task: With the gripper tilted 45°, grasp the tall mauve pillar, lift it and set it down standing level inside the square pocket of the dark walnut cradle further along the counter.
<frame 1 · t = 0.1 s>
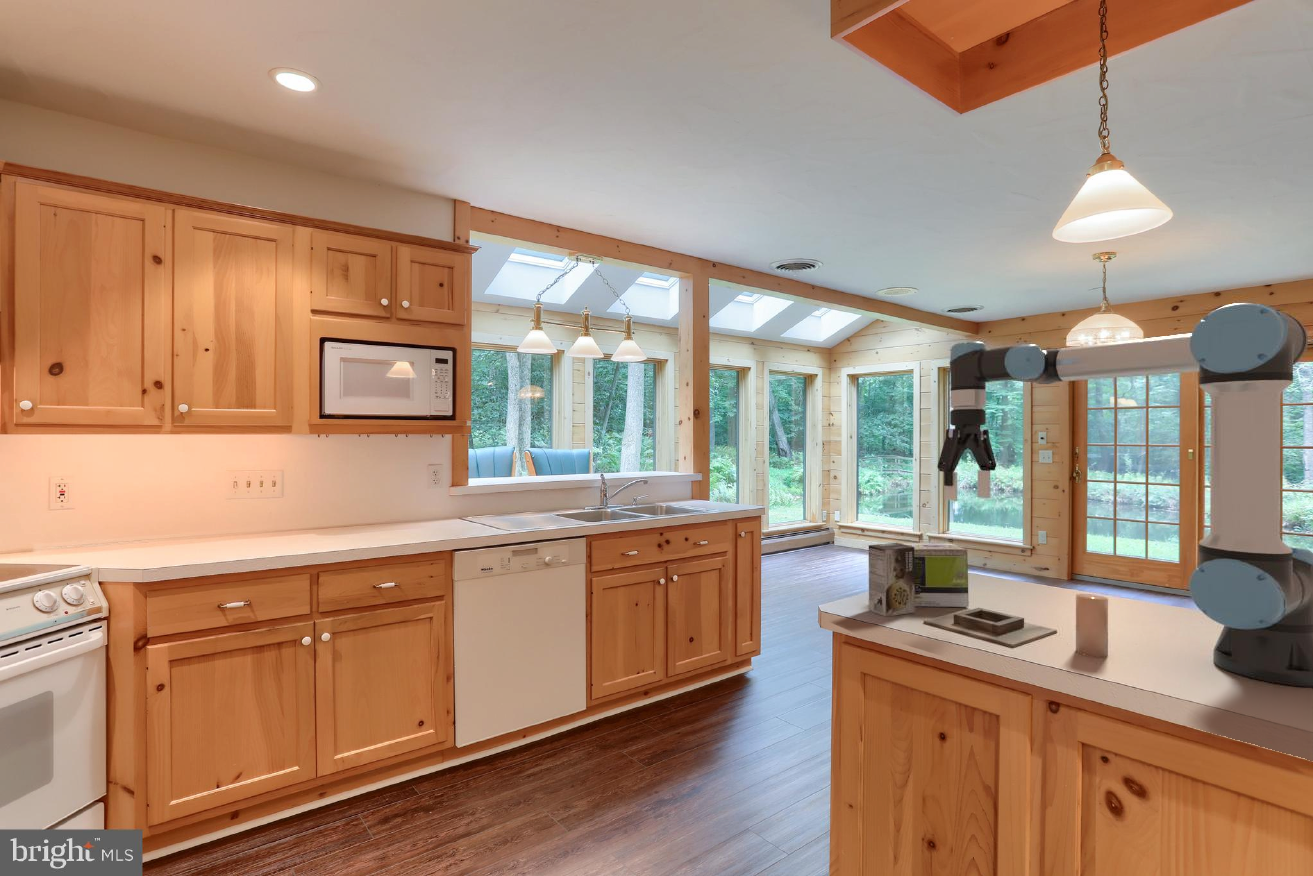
hand: (967, 499, 148), 28 cm above the counter, tool pointing down, fingers open, 13 cm apart
tea box: (930, 603, 161), on the counter
cradle: (988, 627, 140), on the counter
tall mauve pillar: (1091, 652, 123), on the counter
coffee box: (891, 612, 153), on the counter
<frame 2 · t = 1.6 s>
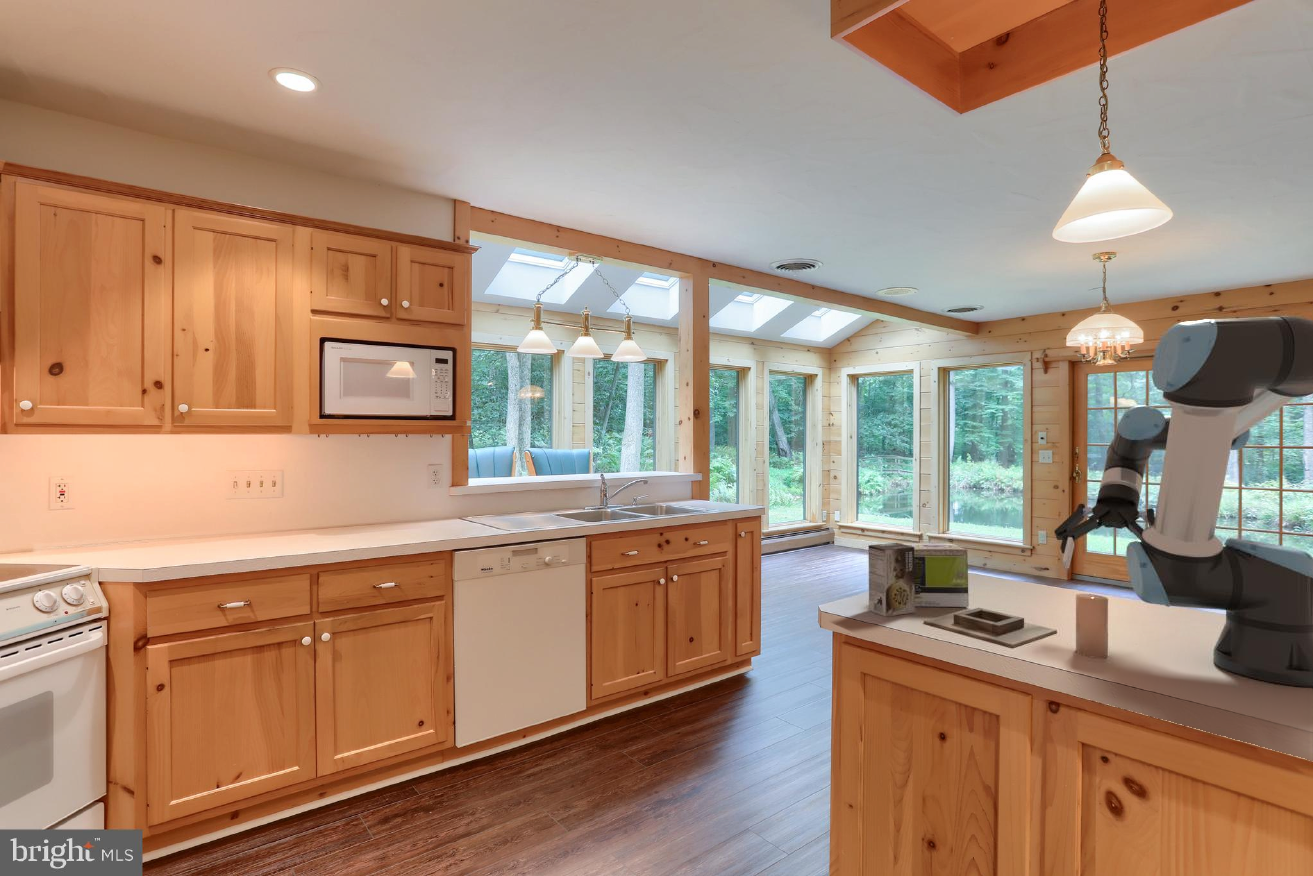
hand: (1103, 570, 131), 15 cm above the counter, tool tilted 45°, fingers open, 13 cm apart
nothing on the counter moved.
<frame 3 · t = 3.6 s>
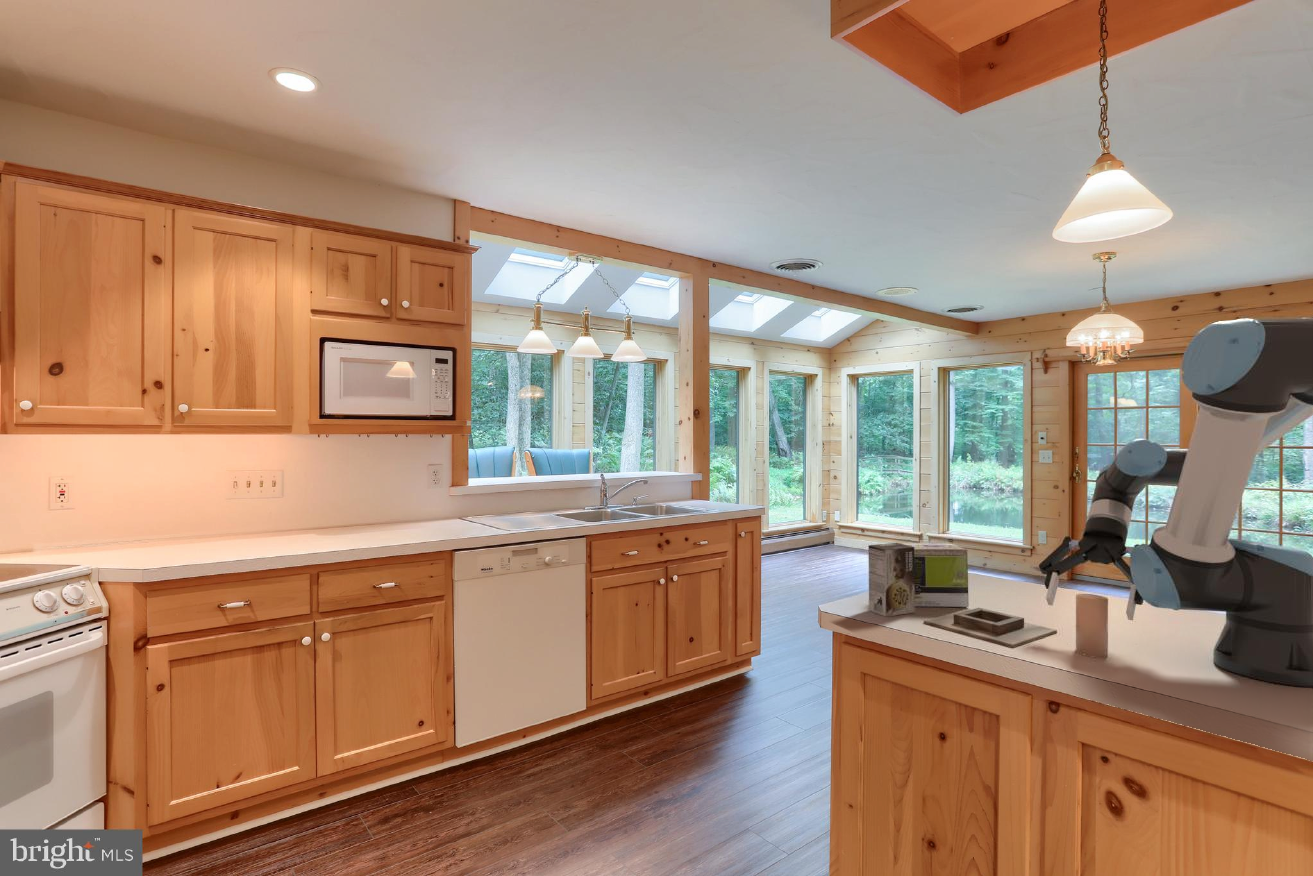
hand: (1087, 609, 127), 8 cm above the counter, tool tilted 45°, fingers open, 13 cm apart
nothing on the counter moved.
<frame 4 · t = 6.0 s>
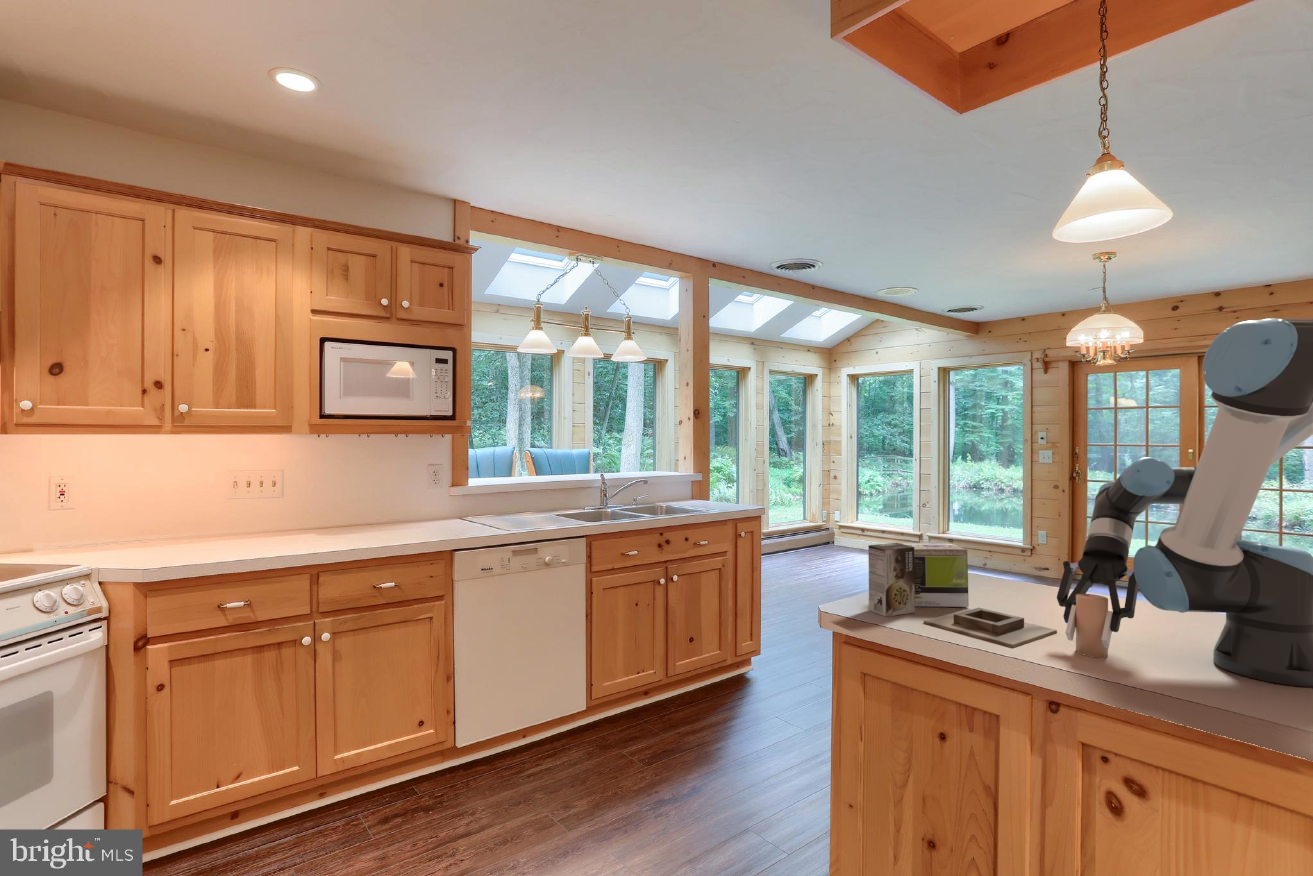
hand: (1086, 640, 121), 3 cm above the counter, tool tilted 45°, fingers closed on tall mauve pillar, 5 cm apart
tall mauve pillar: (1091, 652, 123), on the counter, touching gripper
everything else where it was.
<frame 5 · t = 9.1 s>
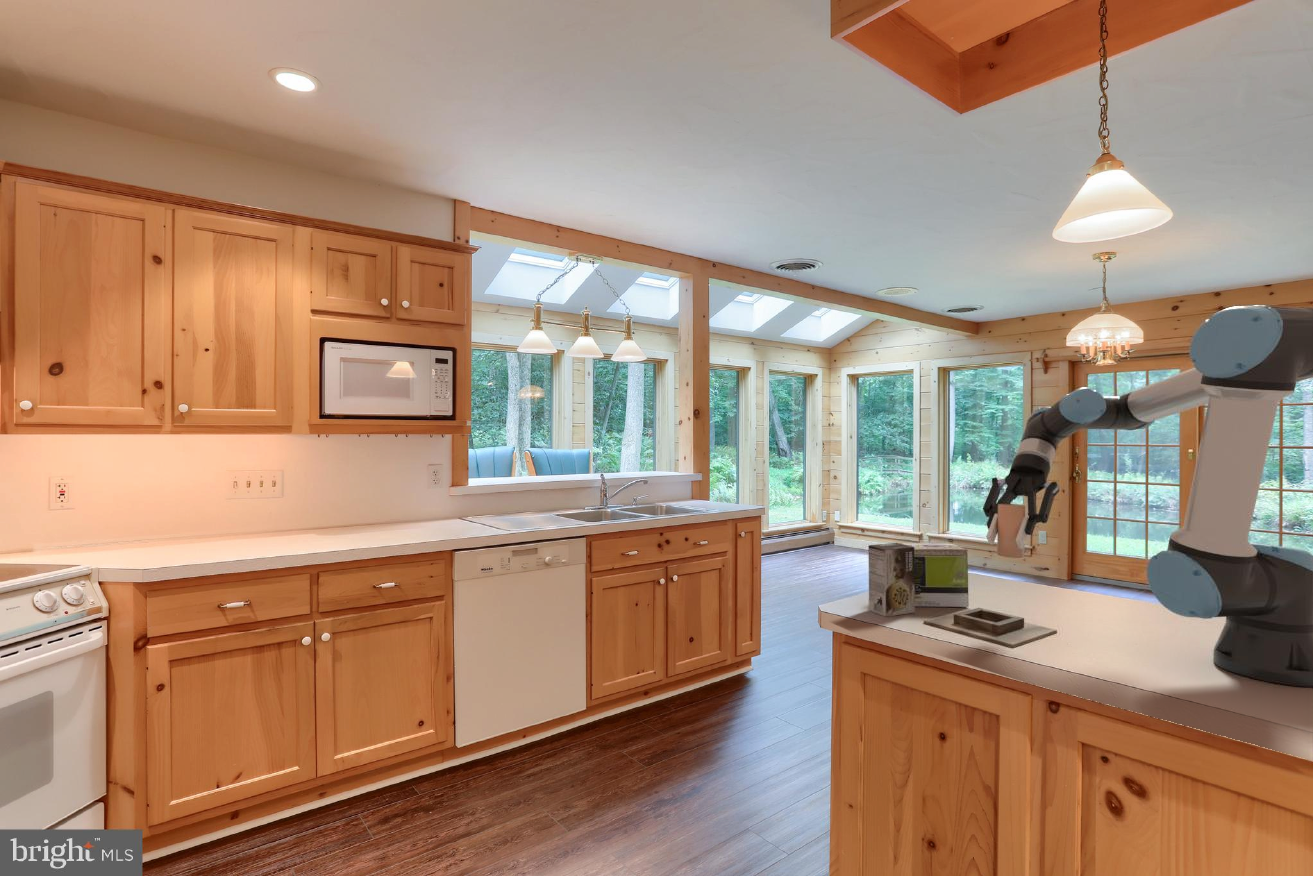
hand: (1004, 542, 135), 20 cm above the counter, tool tilted 45°, fingers closed on tall mauve pillar, 5 cm apart
tall mauve pillar: (1010, 555, 138), point 17 cm above the counter, touching gripper
everything else where it was.
when the fingers open (5 cm above the counter, at t = 12.6 s): tall mauve pillar drops 1 cm, resting on cradle.
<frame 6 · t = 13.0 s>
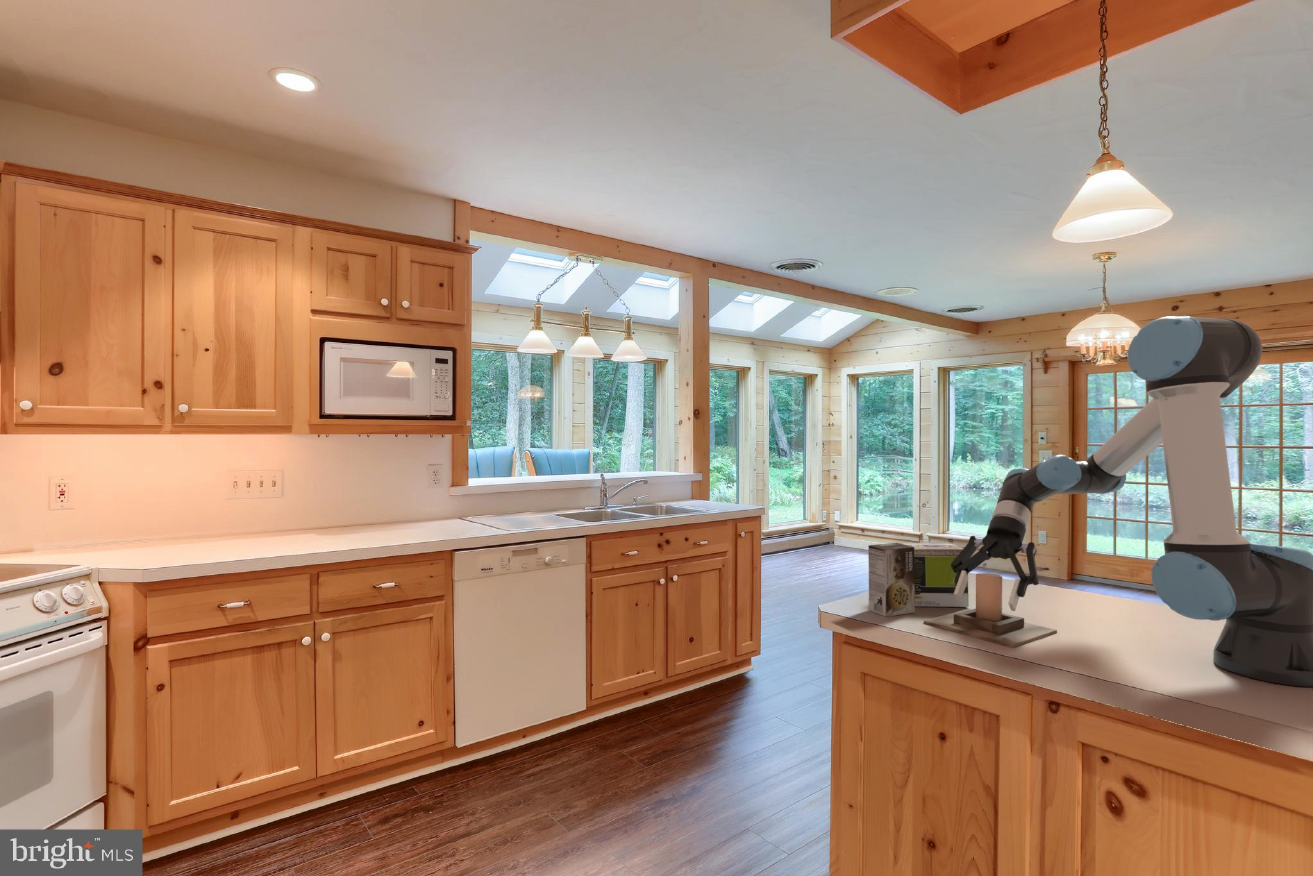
hand: (983, 602, 138), 6 cm above the counter, tool tilted 45°, fingers open, 10 cm apart
tall mauve pillar: (988, 624, 140), point 1 cm above the counter, touching cradle
everything else where it was.
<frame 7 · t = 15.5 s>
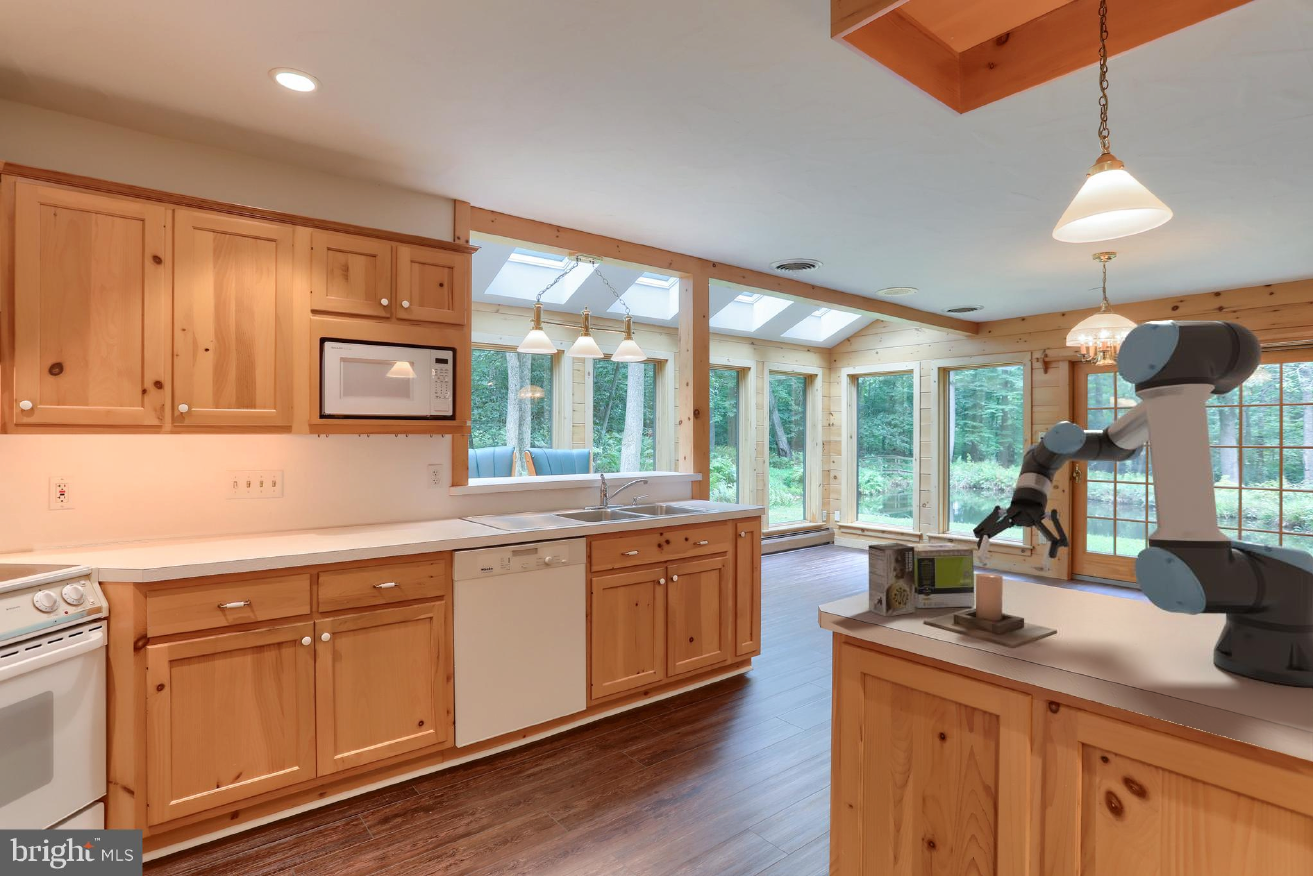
hand: (1011, 563, 146), 13 cm above the counter, tool tilted 45°, fingers open, 13 cm apart
tea box: (935, 604, 161), on the counter
everything else where it was.
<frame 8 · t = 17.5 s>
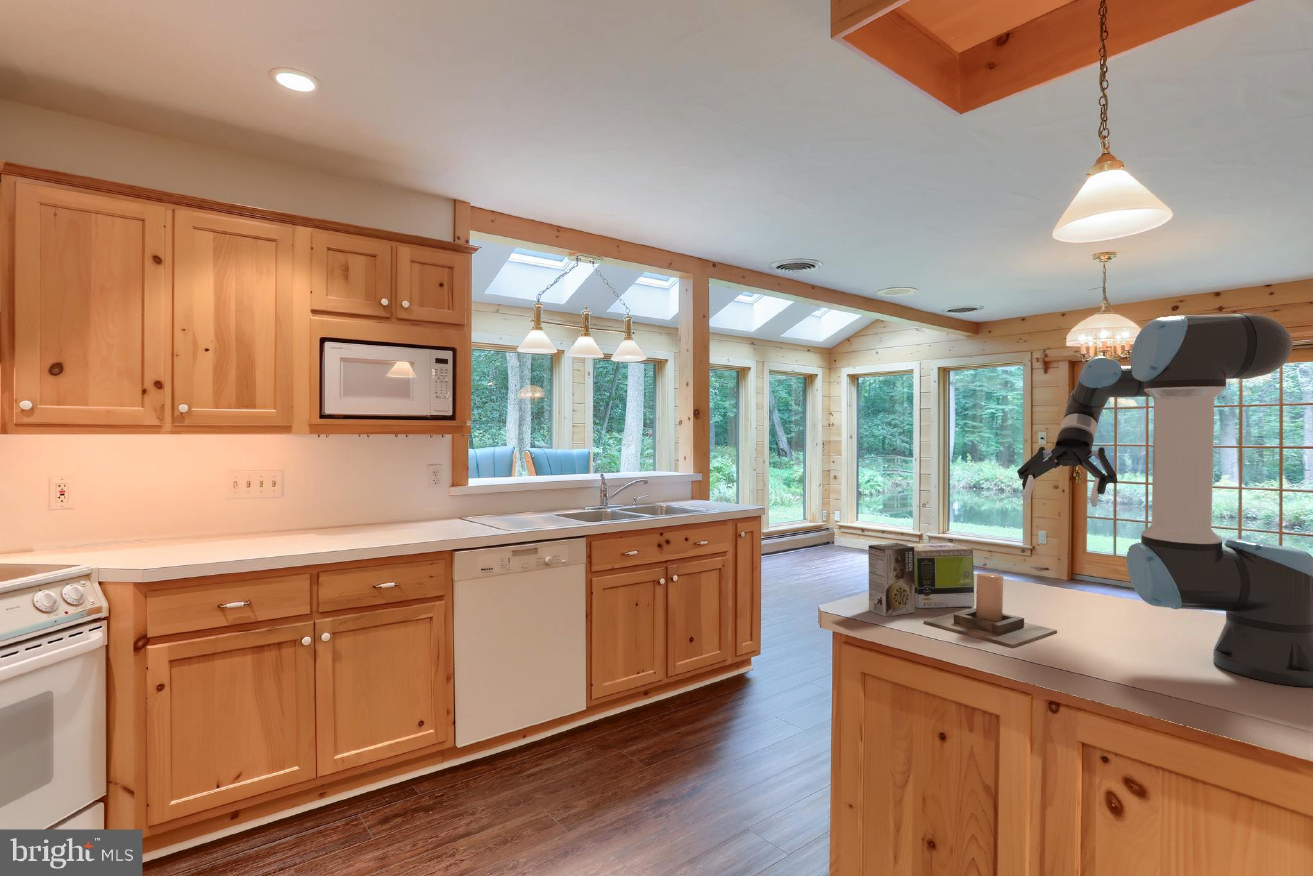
hand: (1058, 500, 146), 28 cm above the counter, tool tilted 45°, fingers open, 13 cm apart
nothing on the counter moved.
at the end: tall mauve pillar 0.1 cm off-centre on the cradle, point 0.7 cm above the cradle's base; tall mauve pillar tilted 1°; the gripper is holding nothing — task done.
